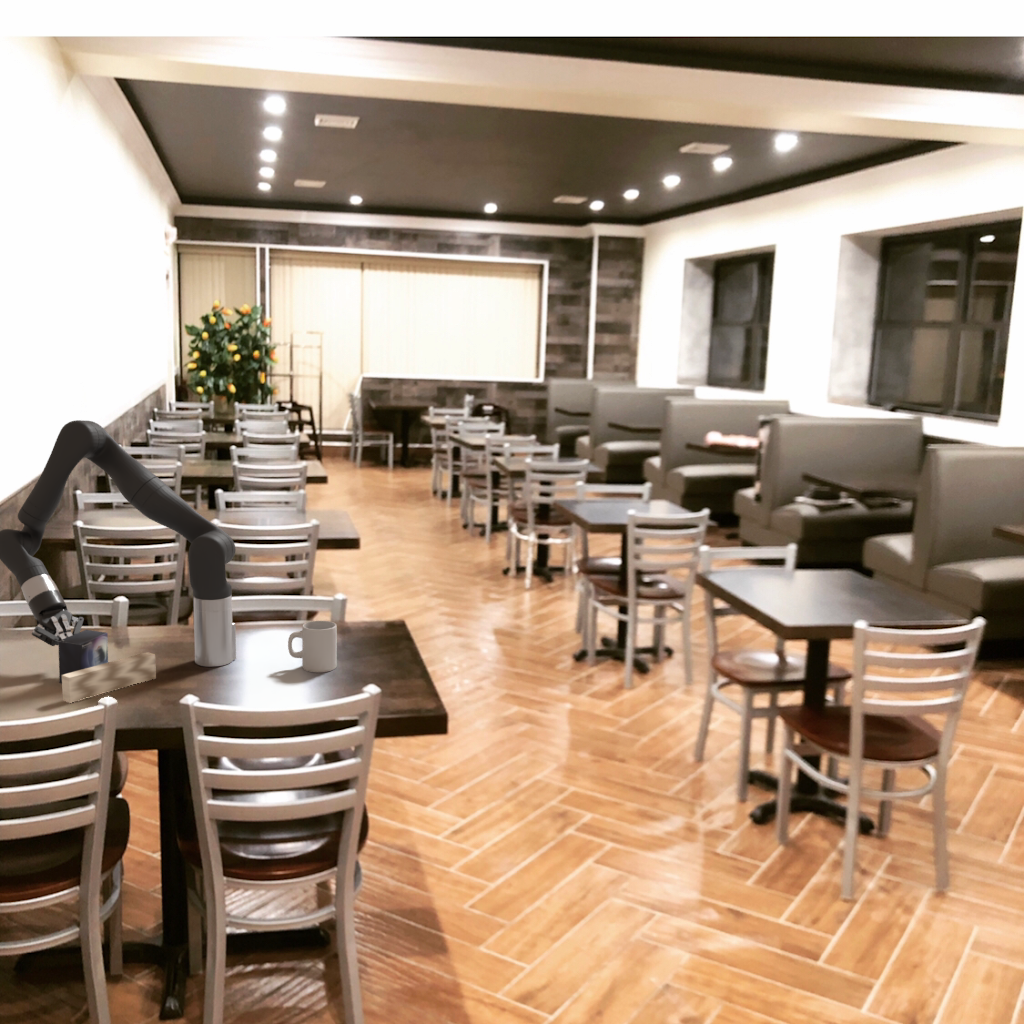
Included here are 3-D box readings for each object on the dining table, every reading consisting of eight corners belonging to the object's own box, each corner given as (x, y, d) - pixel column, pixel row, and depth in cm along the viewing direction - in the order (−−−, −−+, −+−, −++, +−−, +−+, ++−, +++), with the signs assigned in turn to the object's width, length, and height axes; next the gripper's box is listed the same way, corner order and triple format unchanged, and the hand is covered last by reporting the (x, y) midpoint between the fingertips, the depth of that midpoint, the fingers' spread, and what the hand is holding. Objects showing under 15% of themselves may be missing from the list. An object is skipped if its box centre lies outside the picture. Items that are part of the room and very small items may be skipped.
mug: (336, 661, 259) (336, 620, 257) (337, 672, 250) (337, 629, 249) (288, 662, 256) (288, 621, 254) (287, 673, 248) (287, 630, 246)
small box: (82, 687, 234) (80, 643, 233) (58, 684, 236) (56, 641, 234) (110, 673, 245) (108, 631, 243) (87, 670, 246) (85, 628, 244)
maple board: (148, 675, 243) (147, 651, 242) (156, 678, 242) (155, 654, 241) (62, 700, 226) (61, 674, 225) (70, 703, 224) (69, 677, 223)
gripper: (22, 594, 239) (52, 654, 234) (74, 584, 250) (104, 641, 245) (11, 611, 243) (41, 671, 238) (63, 601, 254) (93, 657, 249)
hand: (73, 656), depth 242 cm, fingers closed
